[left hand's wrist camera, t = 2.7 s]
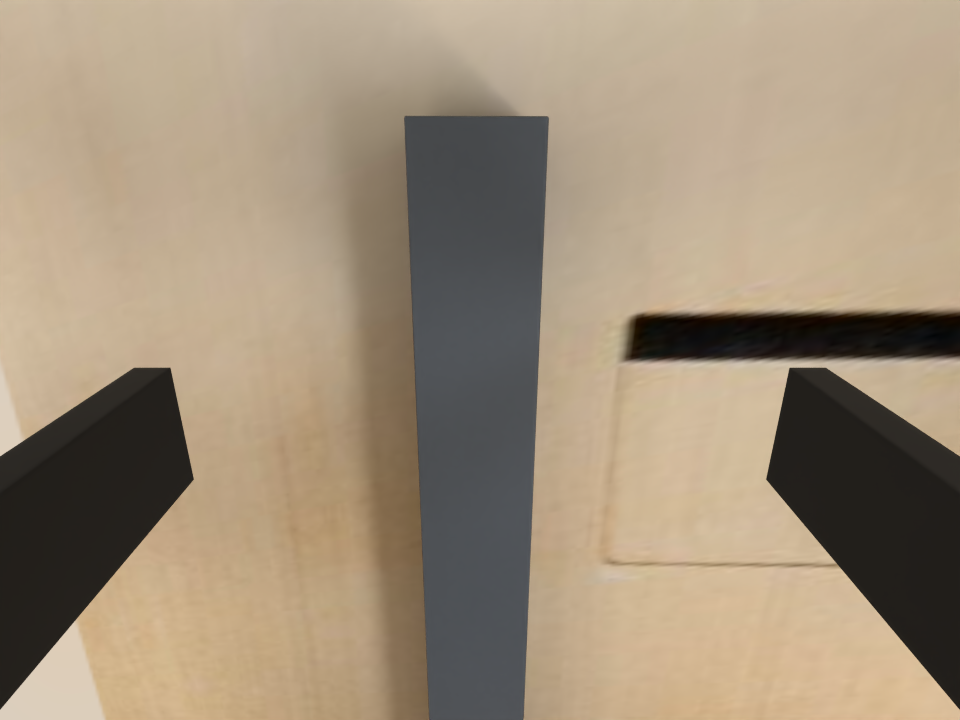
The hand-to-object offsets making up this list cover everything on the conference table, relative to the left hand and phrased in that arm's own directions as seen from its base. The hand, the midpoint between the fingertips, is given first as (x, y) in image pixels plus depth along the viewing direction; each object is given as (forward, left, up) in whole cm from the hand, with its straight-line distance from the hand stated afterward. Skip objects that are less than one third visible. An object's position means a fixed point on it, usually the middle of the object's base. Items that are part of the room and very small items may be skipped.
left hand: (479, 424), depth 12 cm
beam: (+16, +11, -16) cm, 25 cm away
